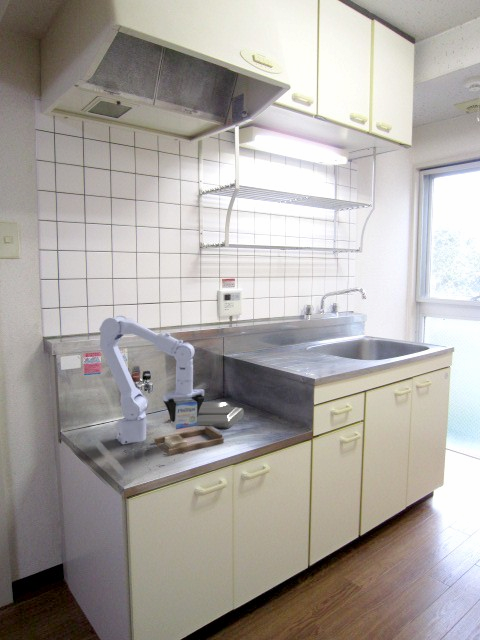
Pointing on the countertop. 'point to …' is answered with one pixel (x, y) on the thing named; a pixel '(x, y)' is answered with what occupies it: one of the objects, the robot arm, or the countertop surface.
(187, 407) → the medicine box
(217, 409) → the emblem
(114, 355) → the robot arm
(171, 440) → the offcut top
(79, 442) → the countertop surface
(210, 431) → the rack
